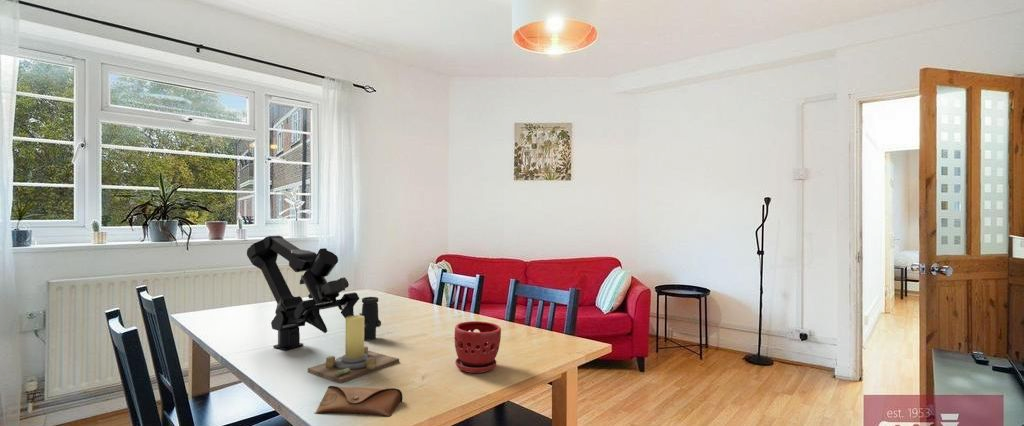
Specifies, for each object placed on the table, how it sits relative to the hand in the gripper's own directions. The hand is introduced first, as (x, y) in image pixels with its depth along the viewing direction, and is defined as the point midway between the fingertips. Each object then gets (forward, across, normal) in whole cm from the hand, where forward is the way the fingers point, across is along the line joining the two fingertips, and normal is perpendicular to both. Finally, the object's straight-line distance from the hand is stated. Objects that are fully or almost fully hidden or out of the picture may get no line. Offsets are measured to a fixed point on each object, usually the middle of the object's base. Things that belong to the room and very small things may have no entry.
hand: (340, 328), depth 134 cm
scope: (-3, +21, +17) cm, 27 cm away
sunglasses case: (+28, -16, -14) cm, 35 cm away
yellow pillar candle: (+10, 0, +1) cm, 10 cm away
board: (+12, 0, +2) cm, 12 cm away
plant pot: (+32, +20, -18) cm, 41 cm away
